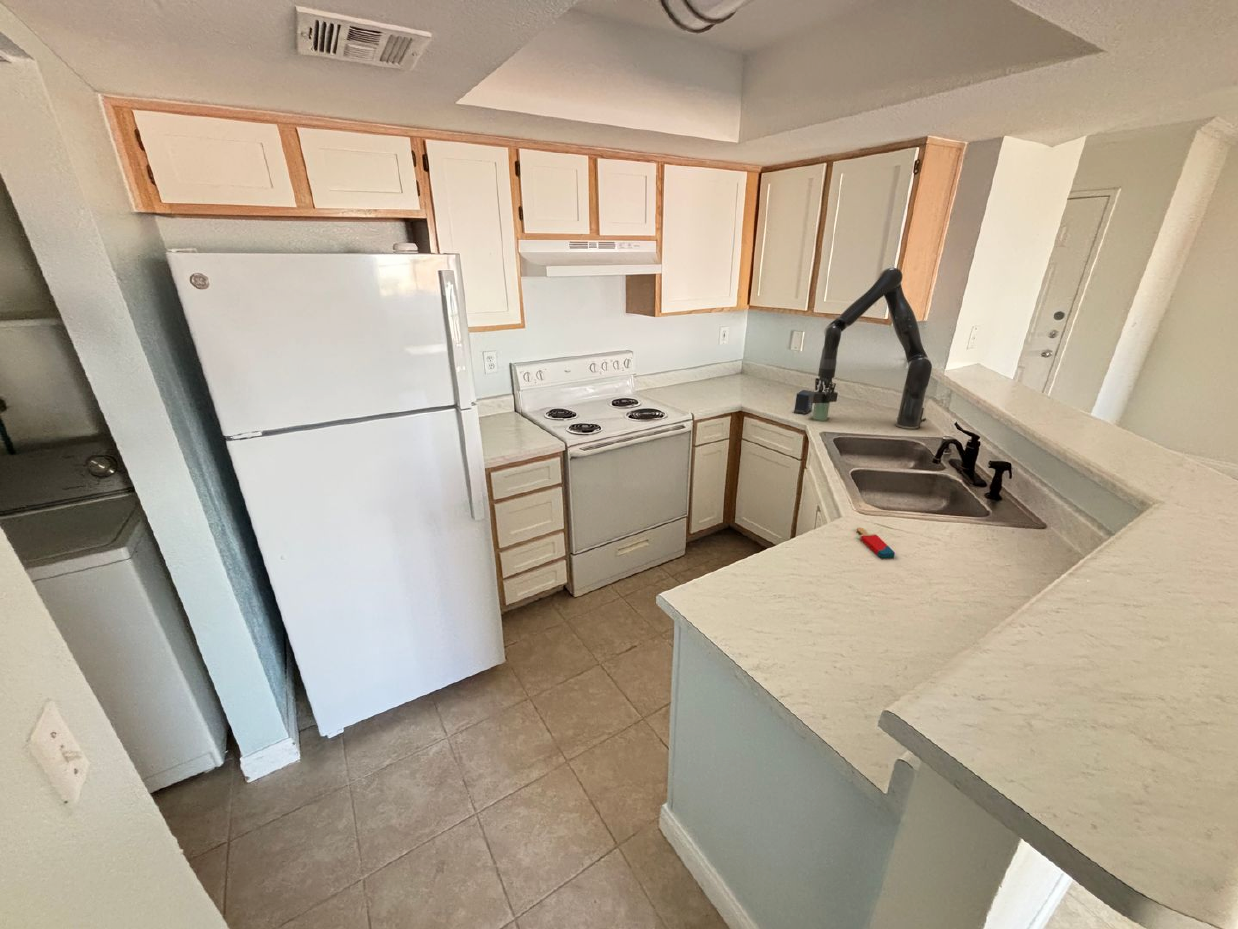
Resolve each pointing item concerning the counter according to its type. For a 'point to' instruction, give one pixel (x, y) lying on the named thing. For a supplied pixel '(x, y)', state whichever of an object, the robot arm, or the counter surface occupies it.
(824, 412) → the cup
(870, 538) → the popsicle
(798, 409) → the small box
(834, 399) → the bar
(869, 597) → the counter surface
